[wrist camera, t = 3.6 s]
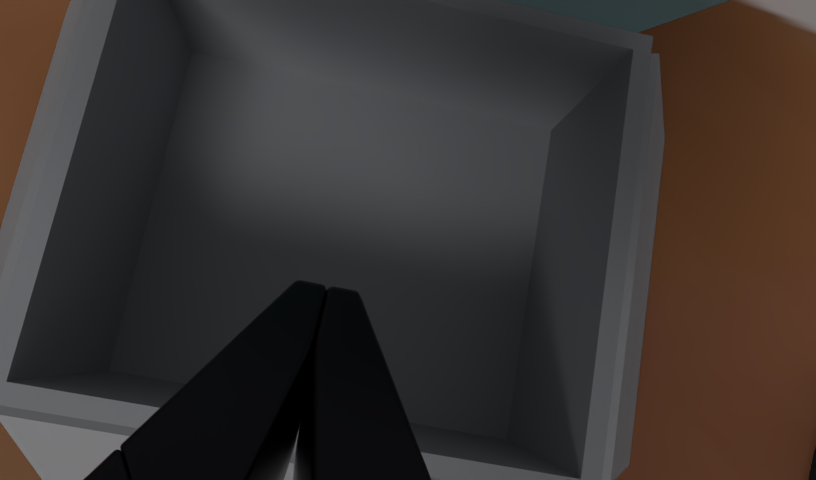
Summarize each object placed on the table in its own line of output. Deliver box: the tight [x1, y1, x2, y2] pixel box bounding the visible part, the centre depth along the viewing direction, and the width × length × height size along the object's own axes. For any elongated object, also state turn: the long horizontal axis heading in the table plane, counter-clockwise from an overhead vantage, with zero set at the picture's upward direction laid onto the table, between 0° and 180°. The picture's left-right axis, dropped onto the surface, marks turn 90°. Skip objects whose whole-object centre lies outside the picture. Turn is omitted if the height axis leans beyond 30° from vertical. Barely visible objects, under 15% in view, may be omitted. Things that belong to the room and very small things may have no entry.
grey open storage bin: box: [0, 0, 665, 480], centre depth 18 cm, size 15×20×7 cm
